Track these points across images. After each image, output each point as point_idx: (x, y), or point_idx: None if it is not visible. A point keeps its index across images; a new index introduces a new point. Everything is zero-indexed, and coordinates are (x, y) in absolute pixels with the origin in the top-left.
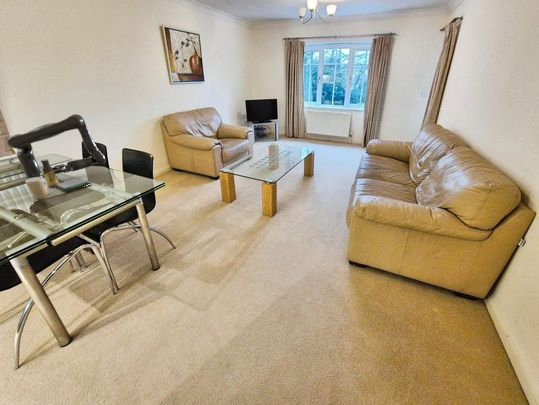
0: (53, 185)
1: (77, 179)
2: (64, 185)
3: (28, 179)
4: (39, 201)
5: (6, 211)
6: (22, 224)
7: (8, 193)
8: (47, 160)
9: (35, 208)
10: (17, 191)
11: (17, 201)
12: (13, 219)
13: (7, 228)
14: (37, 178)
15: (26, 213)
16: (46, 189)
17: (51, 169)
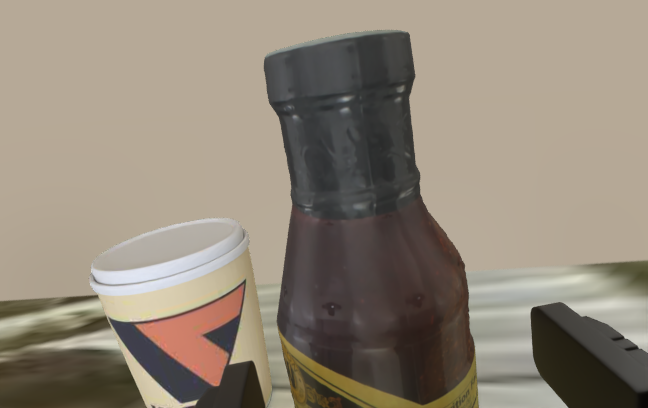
0: None
1: None
2: None
3: (226, 224)
4: (123, 384)
5: None
6: None
7: (480, 280)
8: (273, 62)
9: (52, 364)
10: (491, 304)
11: (274, 311)
12: (71, 310)
13: (27, 303)
14: (168, 252)
15: (56, 337)
16: (142, 390)
17: (289, 300)
